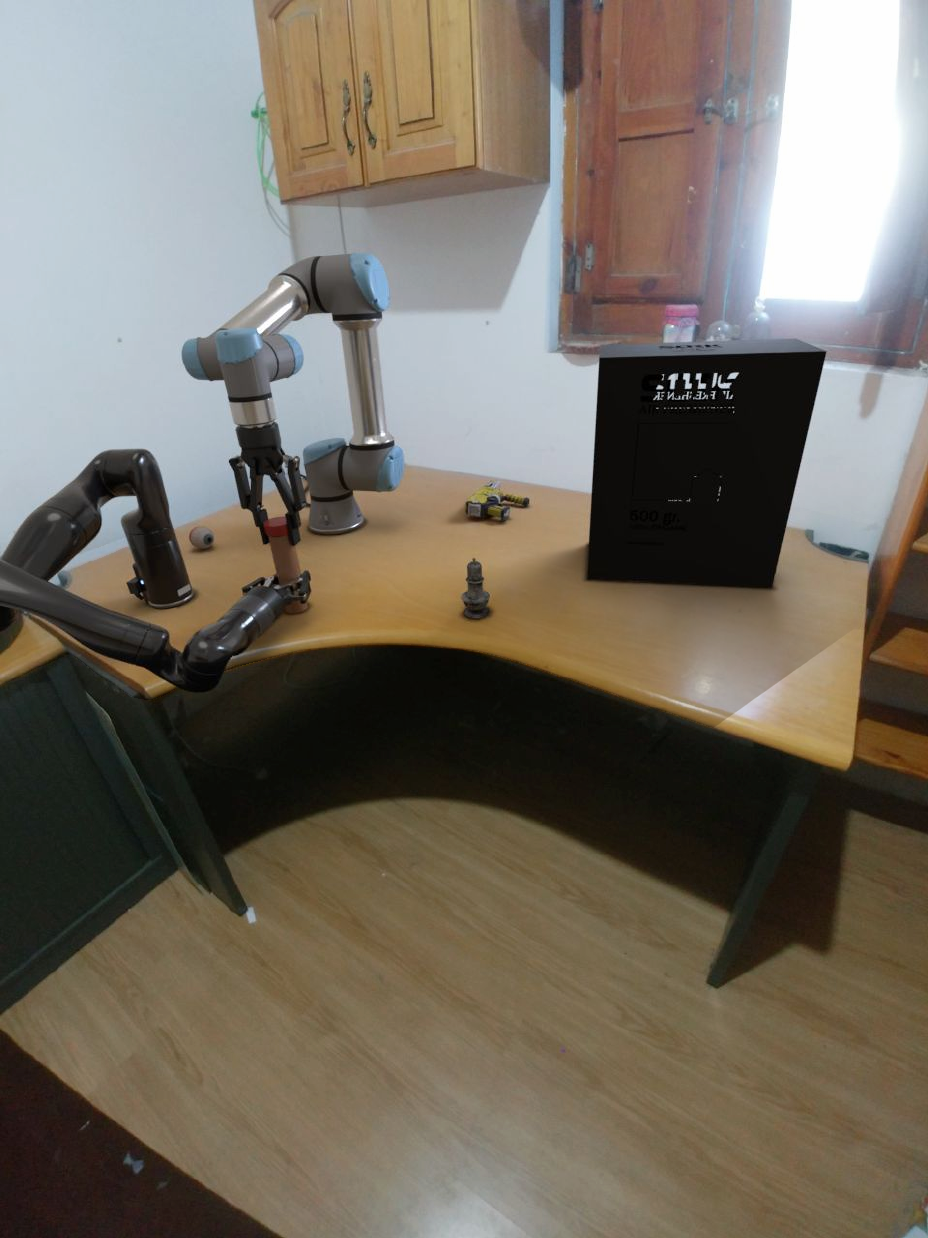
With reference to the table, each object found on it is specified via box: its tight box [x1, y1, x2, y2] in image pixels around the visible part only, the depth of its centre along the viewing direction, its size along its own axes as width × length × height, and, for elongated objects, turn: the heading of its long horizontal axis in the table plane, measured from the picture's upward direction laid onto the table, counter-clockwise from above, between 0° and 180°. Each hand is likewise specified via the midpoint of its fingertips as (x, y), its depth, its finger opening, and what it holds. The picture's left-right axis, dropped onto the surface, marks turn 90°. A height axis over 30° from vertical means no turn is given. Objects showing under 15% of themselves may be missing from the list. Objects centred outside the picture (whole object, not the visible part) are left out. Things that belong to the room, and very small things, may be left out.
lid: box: [263, 516, 289, 536], centre depth 119 cm, size 6×6×2 cm
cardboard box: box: [586, 338, 828, 589], centre depth 126 cm, size 38×20×45 cm, turn 78°
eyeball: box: [188, 525, 215, 550], centre depth 158 cm, size 6×6×6 cm
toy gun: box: [464, 480, 531, 522], centre depth 174 cm, size 5×24×15 cm
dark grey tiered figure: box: [460, 557, 491, 619], centre depth 119 cm, size 6×6×12 cm
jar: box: [268, 534, 309, 615], centre depth 123 cm, size 5×5×19 cm
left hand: (296, 574), depth 127 cm, fingers closed on jar, 5 cm apart
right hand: (282, 542), depth 120 cm, fingers closed on lid, 5 cm apart
